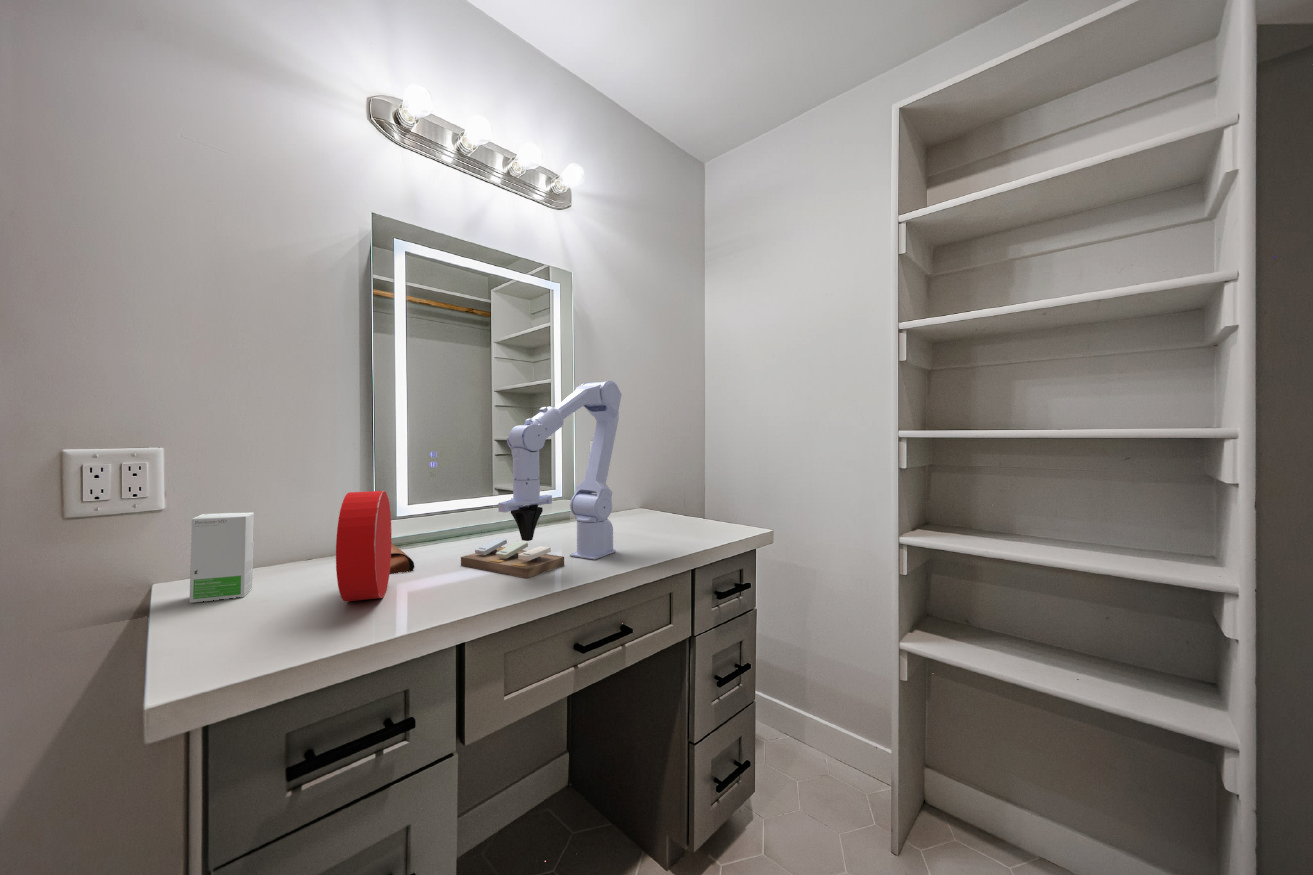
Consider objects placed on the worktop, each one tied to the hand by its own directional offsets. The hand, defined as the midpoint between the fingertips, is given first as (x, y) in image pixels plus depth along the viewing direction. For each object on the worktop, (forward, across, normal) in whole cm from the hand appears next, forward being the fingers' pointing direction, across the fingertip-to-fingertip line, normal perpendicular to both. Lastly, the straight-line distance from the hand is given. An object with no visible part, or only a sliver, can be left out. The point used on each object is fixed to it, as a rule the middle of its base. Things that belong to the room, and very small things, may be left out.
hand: (527, 540), depth 112 cm
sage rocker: (+4, -2, -7) cm, 8 cm away
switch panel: (+7, -2, -7) cm, 10 cm away
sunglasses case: (+8, +12, -33) cm, 36 cm away
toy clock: (+7, +28, -14) cm, 32 cm away
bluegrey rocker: (+4, -2, -14) cm, 15 cm away
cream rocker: (+4, -2, 0) cm, 4 cm away
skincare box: (+7, +41, -39) cm, 57 cm away
